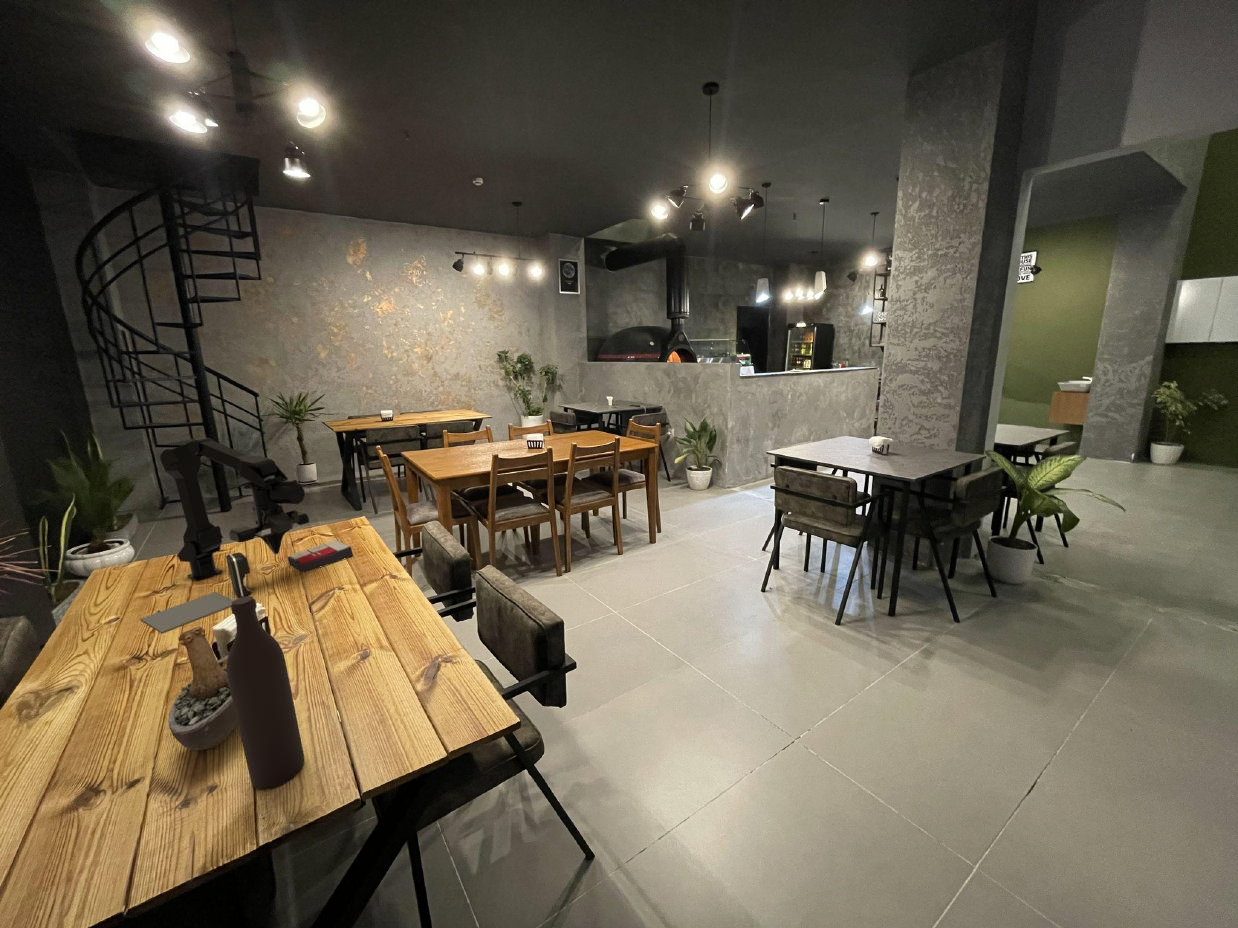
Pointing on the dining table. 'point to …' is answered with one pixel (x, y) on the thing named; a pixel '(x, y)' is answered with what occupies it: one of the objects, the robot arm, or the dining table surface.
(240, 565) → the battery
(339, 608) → the dining table surface
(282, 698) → the wine bottle
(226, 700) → the planter
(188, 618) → the mat
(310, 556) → the grey and red box
